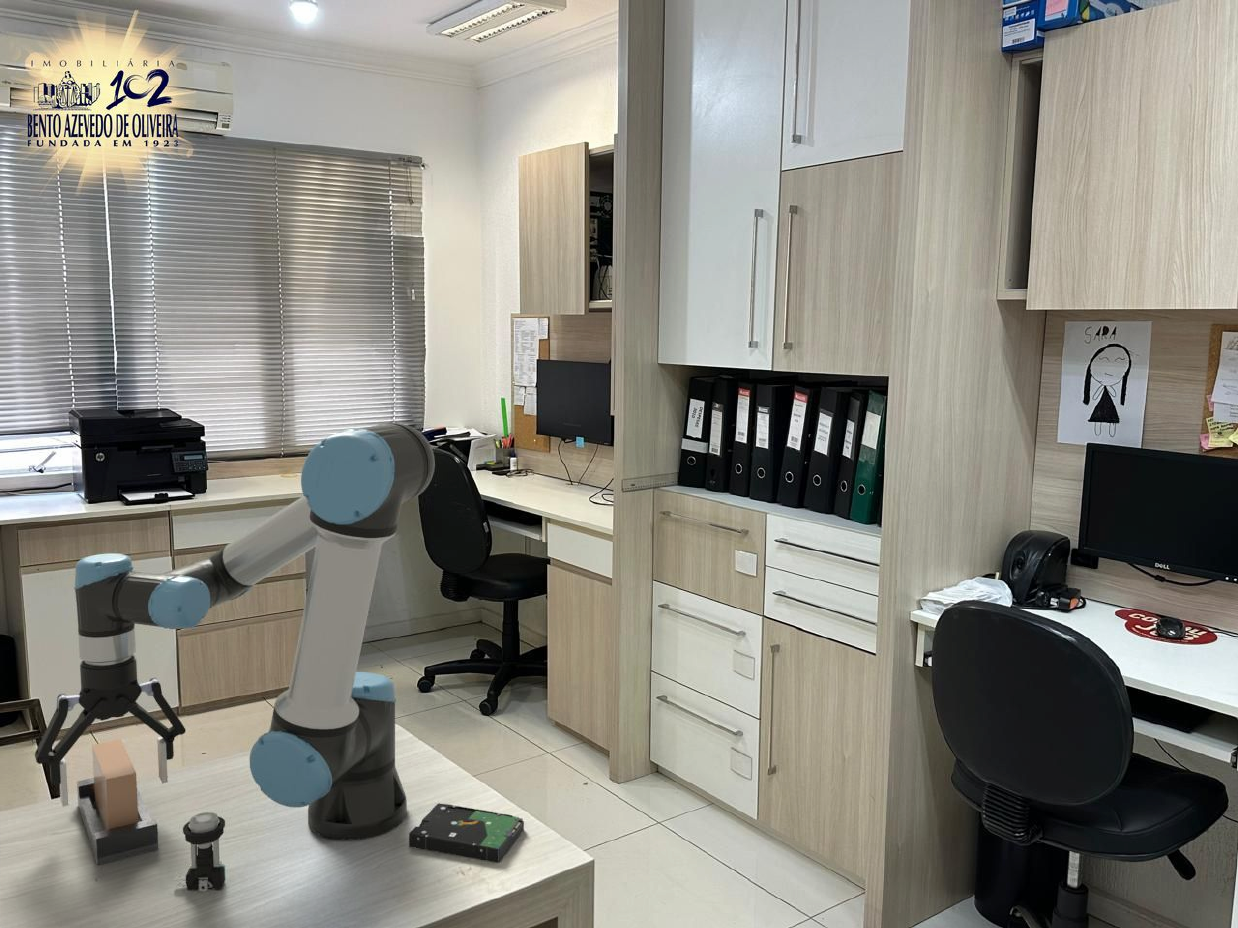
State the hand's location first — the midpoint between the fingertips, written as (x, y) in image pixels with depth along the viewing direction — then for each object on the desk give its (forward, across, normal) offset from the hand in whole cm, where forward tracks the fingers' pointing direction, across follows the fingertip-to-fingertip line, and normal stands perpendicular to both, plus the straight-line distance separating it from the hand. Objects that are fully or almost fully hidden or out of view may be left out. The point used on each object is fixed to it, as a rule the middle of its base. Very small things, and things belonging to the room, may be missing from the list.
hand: (115, 790), depth 149 cm
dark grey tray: (+6, 0, 0) cm, 6 cm away
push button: (+6, -7, +24) cm, 26 cm away
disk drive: (+7, -44, +32) cm, 54 cm away
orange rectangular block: (+5, 0, 0) cm, 5 cm away
